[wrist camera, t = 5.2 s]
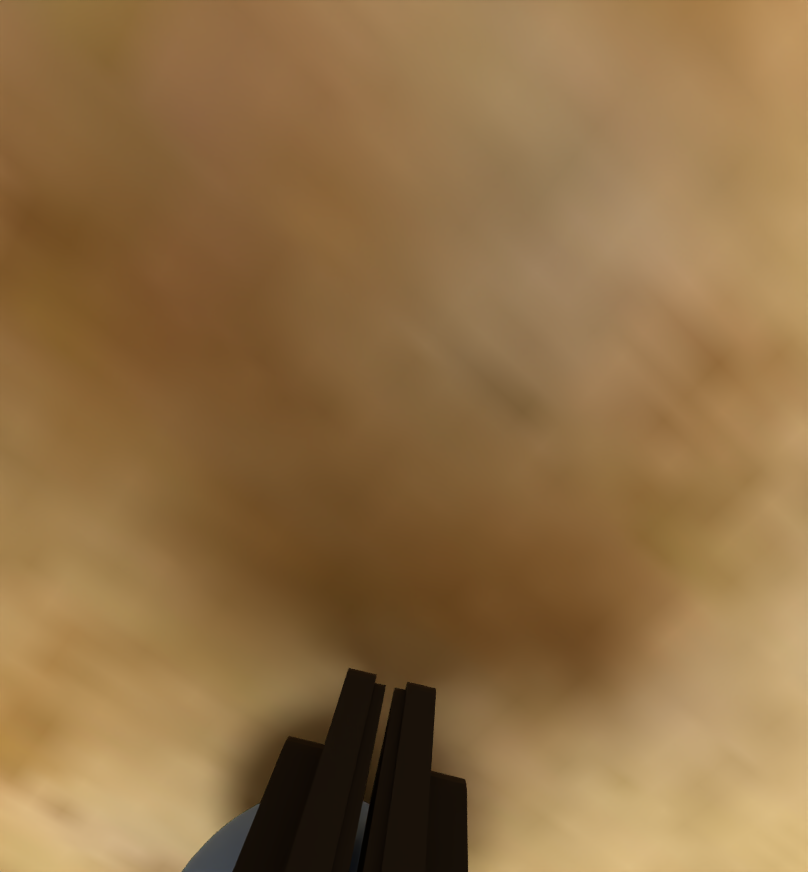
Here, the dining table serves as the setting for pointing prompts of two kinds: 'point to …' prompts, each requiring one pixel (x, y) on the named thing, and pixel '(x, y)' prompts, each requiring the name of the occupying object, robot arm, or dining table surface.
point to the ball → (223, 848)
